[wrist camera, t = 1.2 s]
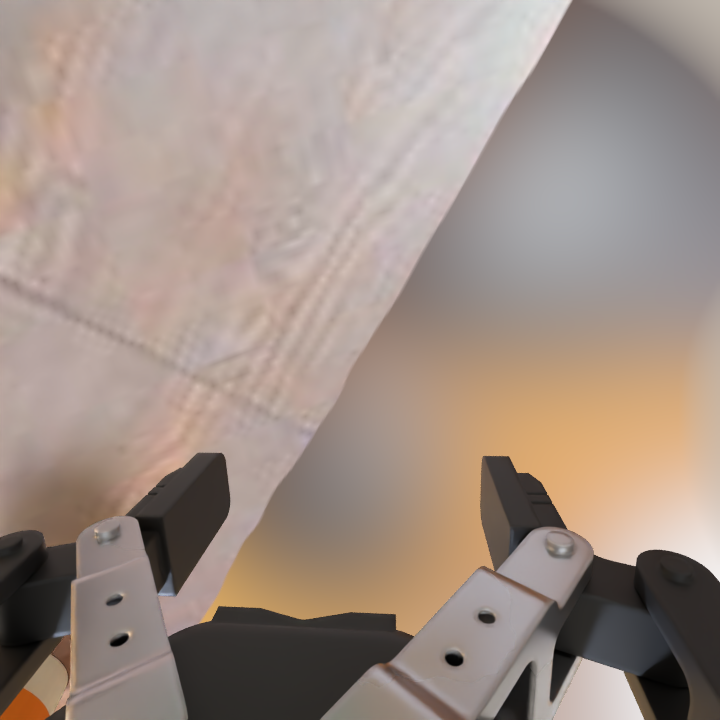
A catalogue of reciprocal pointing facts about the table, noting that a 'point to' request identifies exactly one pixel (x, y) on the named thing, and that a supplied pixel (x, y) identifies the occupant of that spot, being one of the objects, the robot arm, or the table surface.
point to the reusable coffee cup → (39, 693)
